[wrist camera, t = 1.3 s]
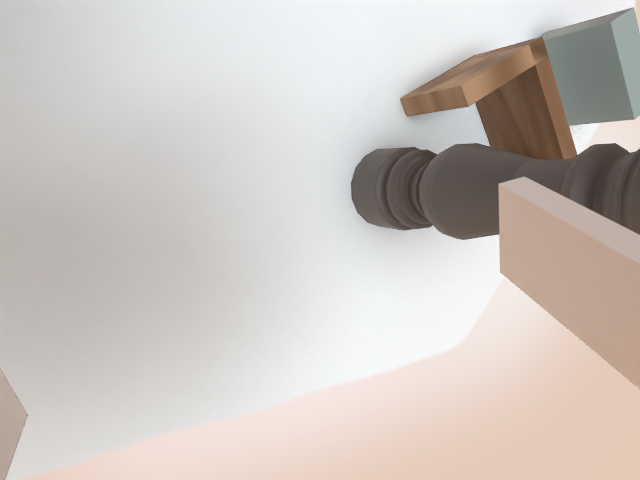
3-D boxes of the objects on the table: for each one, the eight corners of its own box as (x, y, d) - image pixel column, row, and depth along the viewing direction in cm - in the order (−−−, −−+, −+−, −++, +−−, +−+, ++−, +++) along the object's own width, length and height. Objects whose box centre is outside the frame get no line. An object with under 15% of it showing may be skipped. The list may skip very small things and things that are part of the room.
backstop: (551, 127, 49) (634, 119, 42) (526, 45, 47) (610, 22, 39) (570, 113, 50) (655, 103, 43) (547, 32, 48) (633, 7, 40)
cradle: (447, 218, 45) (510, 225, 39) (400, 98, 41) (461, 85, 35) (513, 171, 48) (581, 170, 41) (474, 55, 44) (542, 36, 38)
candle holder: (427, 194, 44) (813, 216, 21) (377, 242, 42) (740, 320, 20) (391, 132, 41) (781, 86, 19) (336, 180, 40) (695, 191, 17)
